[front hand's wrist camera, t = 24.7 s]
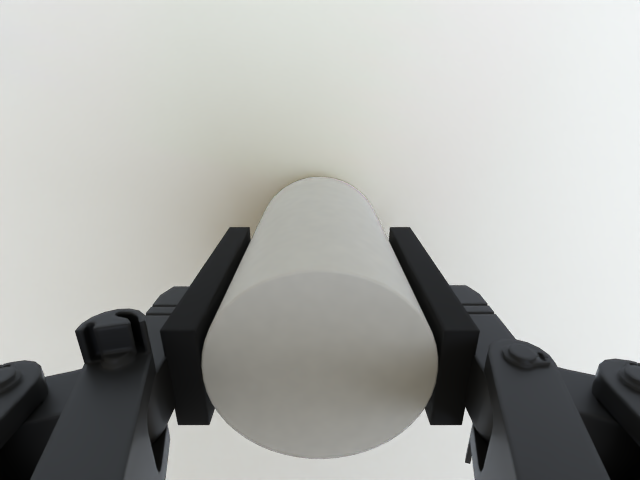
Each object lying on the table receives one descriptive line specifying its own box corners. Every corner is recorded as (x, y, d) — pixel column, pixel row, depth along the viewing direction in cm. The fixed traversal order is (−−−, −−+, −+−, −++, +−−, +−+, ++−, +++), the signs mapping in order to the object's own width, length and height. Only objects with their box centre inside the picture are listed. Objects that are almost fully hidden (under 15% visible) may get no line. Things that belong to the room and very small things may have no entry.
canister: (370, 291, 17) (415, 466, 9) (259, 282, 17) (204, 453, 9) (387, 181, 16) (464, 280, 7) (262, 171, 15) (195, 259, 7)
